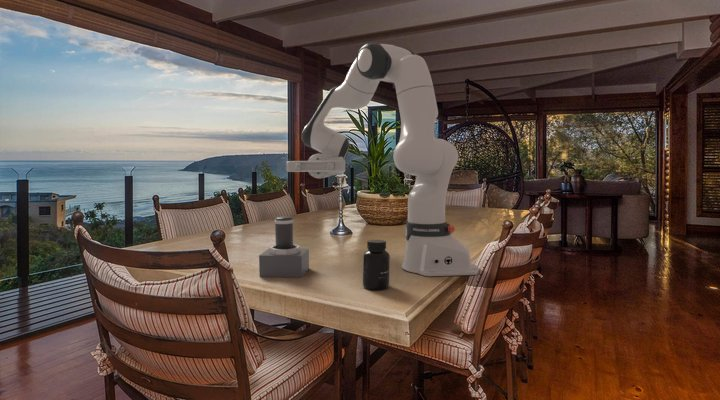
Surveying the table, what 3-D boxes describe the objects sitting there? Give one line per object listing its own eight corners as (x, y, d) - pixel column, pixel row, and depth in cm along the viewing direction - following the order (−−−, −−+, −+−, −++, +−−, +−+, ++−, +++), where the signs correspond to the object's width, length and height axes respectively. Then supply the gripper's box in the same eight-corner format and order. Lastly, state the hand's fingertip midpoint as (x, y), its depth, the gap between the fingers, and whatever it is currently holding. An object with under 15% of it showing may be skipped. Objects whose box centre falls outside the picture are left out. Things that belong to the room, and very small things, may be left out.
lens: (295, 249, 125) (294, 216, 124) (291, 254, 120) (290, 219, 119) (278, 249, 126) (277, 216, 124) (273, 253, 120) (272, 218, 119)
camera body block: (309, 268, 128) (308, 243, 127) (301, 277, 118) (301, 250, 117) (270, 267, 129) (269, 243, 128) (259, 276, 119) (258, 250, 118)
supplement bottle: (387, 291, 105) (387, 244, 104) (360, 290, 107) (360, 243, 105) (391, 283, 112) (391, 239, 111) (365, 282, 113) (365, 238, 112)
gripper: (290, 157, 153) (280, 157, 139) (347, 156, 151) (342, 156, 137) (291, 175, 153) (281, 176, 140) (347, 174, 152) (343, 175, 138)
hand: (312, 166), depth 139 cm, fingers open, 8 cm apart
